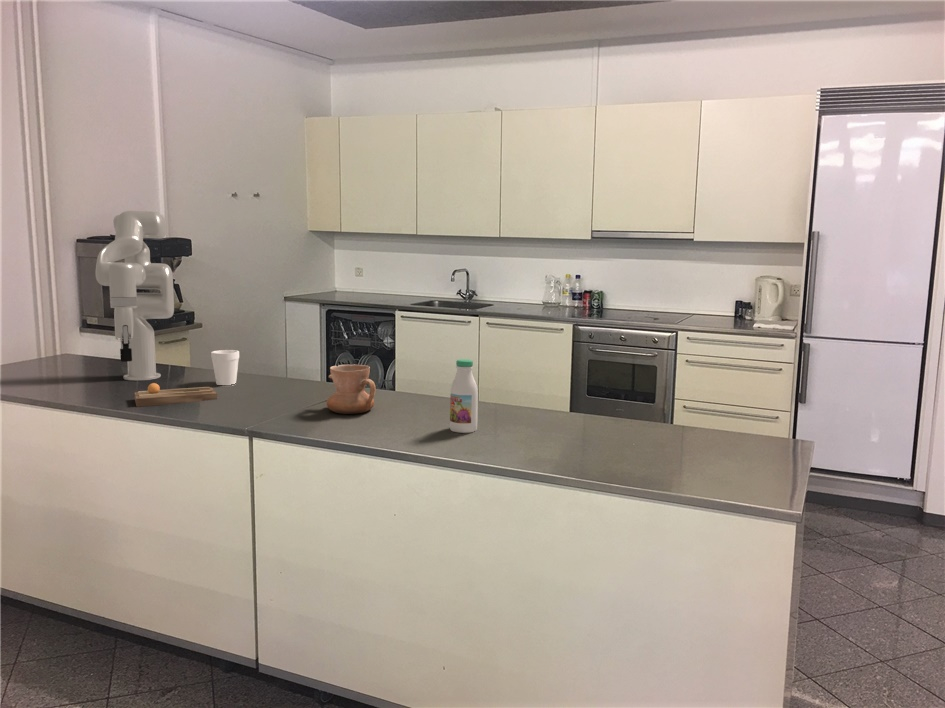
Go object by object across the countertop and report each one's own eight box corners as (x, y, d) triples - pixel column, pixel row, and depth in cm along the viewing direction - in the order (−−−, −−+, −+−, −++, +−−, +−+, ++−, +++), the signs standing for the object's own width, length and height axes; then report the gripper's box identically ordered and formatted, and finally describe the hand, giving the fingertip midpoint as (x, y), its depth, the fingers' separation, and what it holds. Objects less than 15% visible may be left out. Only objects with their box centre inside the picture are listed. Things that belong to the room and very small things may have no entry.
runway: (134, 399, 238) (134, 390, 237) (212, 394, 248) (211, 385, 248) (136, 406, 227) (136, 397, 227) (217, 400, 238) (216, 391, 237)
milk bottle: (461, 425, 210) (463, 357, 207) (482, 430, 205) (484, 360, 202) (444, 430, 204) (445, 360, 201) (465, 435, 199) (466, 363, 196)
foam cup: (206, 388, 259) (205, 352, 257) (226, 384, 267) (225, 349, 265) (226, 391, 255) (225, 354, 253) (245, 386, 263) (244, 351, 261)
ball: (147, 393, 235) (147, 382, 235) (159, 392, 237) (159, 381, 236) (148, 395, 232) (147, 384, 231) (160, 394, 234) (159, 383, 233)
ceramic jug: (313, 412, 223) (313, 367, 222) (347, 405, 235) (346, 361, 233) (356, 421, 213) (356, 373, 211) (389, 412, 225) (389, 367, 223)
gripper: (110, 302, 232) (112, 359, 234) (110, 304, 218) (113, 364, 221) (135, 301, 235) (138, 358, 237) (138, 303, 222) (140, 363, 224)
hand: (126, 361), depth 229 cm, fingers closed
